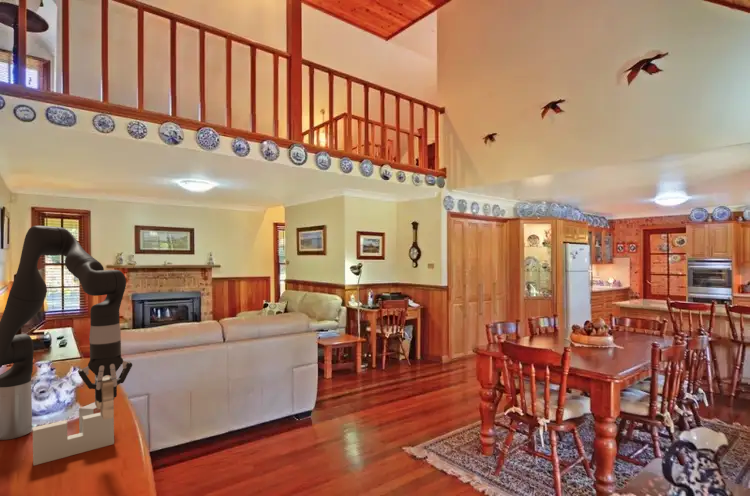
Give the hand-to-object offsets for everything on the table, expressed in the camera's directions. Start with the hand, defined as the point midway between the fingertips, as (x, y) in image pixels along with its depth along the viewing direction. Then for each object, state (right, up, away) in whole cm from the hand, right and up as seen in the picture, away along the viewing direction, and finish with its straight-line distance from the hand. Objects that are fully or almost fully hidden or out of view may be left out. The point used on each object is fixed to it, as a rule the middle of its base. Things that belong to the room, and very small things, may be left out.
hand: (106, 400), depth 121 cm
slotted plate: (-3, -4, +3) cm, 6 cm away
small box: (-16, -19, +20) cm, 32 cm away
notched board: (-15, -19, +8) cm, 25 cm away
